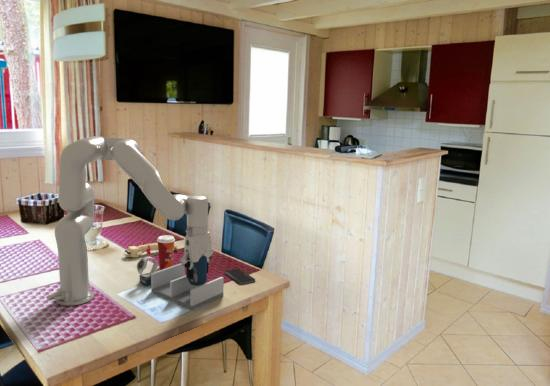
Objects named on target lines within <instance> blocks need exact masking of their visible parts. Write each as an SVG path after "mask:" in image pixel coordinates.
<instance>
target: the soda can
mask: <svg viewBox="0 0 550 386" xmlns="http://www.w3.org/2000/svg"><path fill="white" fill-rule="evenodd" d="M189 260H190V259H189ZM190 263H191V262H189V265H190ZM192 269H193V279H189V278H188V281H189V283H190V284H191V285H193V286H200V285H203V284H205V283H207V281H208V273H207V257H206V256H204V254H203V256H201V257H200V259H199V261H198V262H195V263H194V264H193V267H192Z"/></svg>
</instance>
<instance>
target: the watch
mask: <svg viewBox="0 0 550 386" xmlns="http://www.w3.org/2000/svg"><path fill="white" fill-rule="evenodd" d="M151 259H152V260H153V265H152V267H151V269H150V272H147V273H144V274H143V271H145V269H146V268H147V265H148V262H149V260H151ZM138 260H139V261H138V262H137V264H136V270H137V272H138V275H139V283H140V284H141V285H143V286H144V287H145V288H147V287H150V286H151V273H154V272H157V268H158V261H157V260H156V259H155V258H154V257H152V256H151V255H150V256H144V257H143V258H140V259H138Z"/></svg>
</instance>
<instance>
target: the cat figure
mask: <svg viewBox="0 0 550 386" xmlns="http://www.w3.org/2000/svg"><path fill="white" fill-rule="evenodd" d="M170 236H173V237H174V239H175V240H176V238H175V235H172V234H170ZM177 250H178V247H177V245H176V244H174V251H177ZM151 251H158V242H154V243H146V242H145V241H144V242H143V243H142V244H140V245H138V246H136V245H132V246H131V245H130V246H128V247H127V248H125V250H124V252H125V253H123V255H124V257H125V258H139V256H140V255H142V254H144V253H145V252H146V255H148V257H149V256H150V257H151V253H152V252H151Z"/></svg>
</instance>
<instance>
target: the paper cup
mask: <svg viewBox="0 0 550 386" xmlns="http://www.w3.org/2000/svg"><path fill="white" fill-rule="evenodd" d="M173 236H174V235H173ZM173 236H171V234H169V235H167V234H165V235H160V236H158V237H157V239H156V243H158V250H157V251H158V252H157V253H158V263H159V270H163V269H166V268H169V267H171V266H174V253H175V252H174V245H175V241H176V238H175V239H174V237H175V236H174V237H173Z"/></svg>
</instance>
